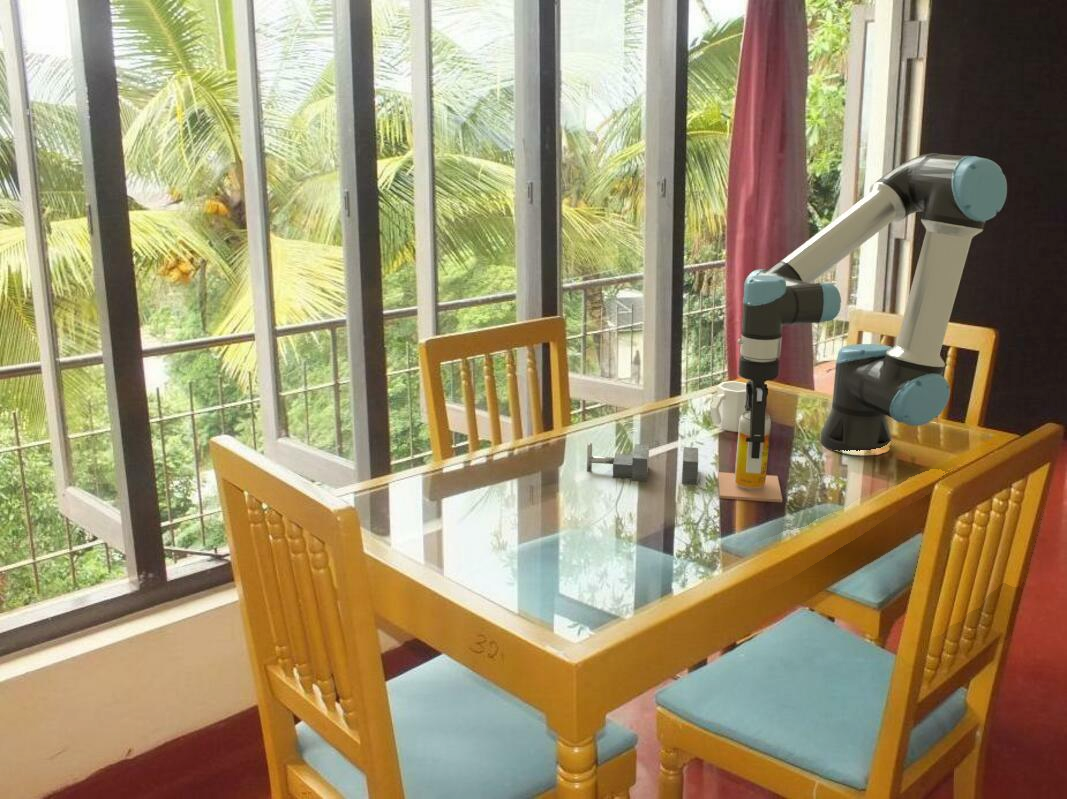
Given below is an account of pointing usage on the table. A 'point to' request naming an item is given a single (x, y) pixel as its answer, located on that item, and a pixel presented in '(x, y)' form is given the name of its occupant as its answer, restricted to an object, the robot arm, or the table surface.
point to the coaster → (732, 491)
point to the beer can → (741, 477)
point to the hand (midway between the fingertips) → (751, 459)
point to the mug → (729, 405)
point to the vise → (644, 464)
